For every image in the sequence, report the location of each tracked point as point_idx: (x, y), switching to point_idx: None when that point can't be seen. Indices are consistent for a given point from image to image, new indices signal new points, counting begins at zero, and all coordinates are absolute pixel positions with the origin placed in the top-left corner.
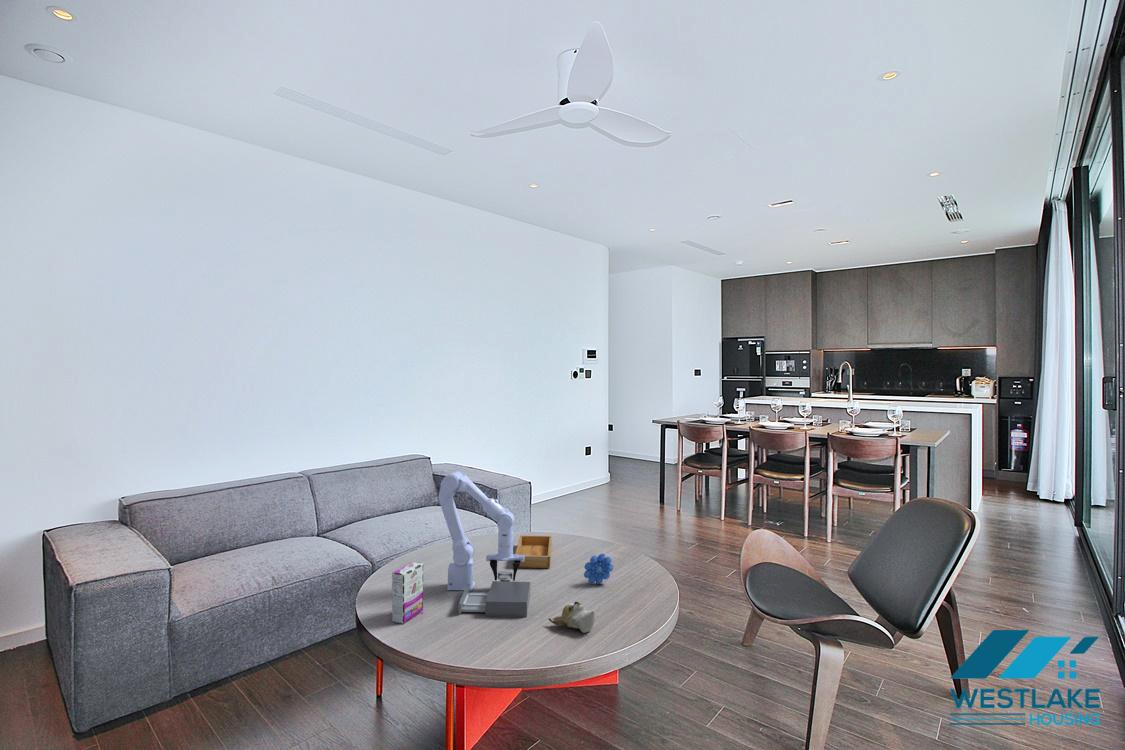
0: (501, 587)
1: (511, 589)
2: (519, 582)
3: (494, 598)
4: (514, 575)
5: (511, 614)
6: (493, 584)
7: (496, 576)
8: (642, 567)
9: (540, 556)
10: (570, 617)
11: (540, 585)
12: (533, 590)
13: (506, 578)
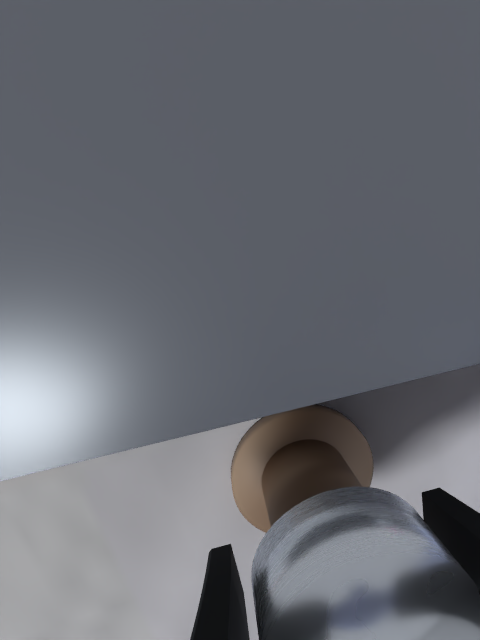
0: (286, 94)
1: (18, 7)
2: (25, 436)
3: None
4: (207, 635)
5: None
6: (469, 216)
7: (468, 539)
8: None
9: None
10: None
11: (17, 613)
12: (32, 507)
13: (313, 529)
